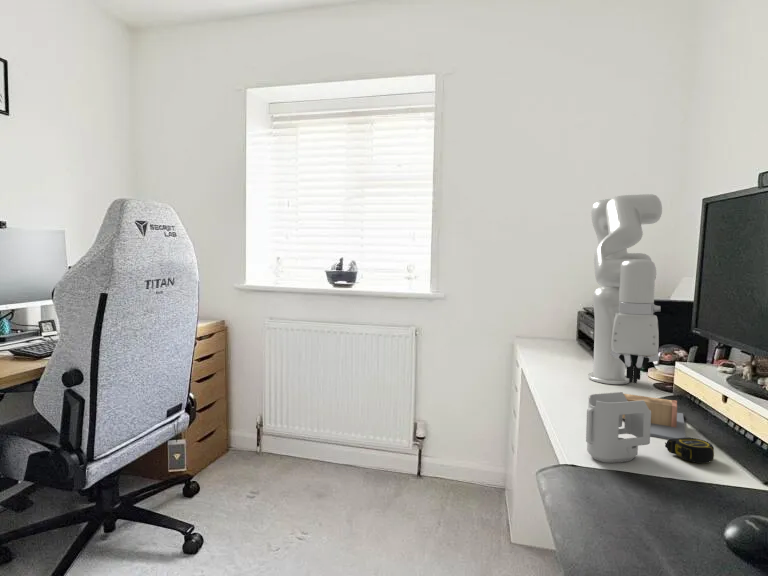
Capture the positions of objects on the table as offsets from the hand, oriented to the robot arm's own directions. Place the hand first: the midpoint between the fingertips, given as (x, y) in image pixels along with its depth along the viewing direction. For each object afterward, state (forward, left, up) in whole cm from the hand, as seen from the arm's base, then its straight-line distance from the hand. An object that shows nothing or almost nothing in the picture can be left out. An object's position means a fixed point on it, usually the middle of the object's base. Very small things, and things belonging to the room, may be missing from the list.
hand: (633, 381), depth 111 cm
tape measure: (+18, +11, -10) cm, 24 cm away
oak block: (0, -3, -6) cm, 7 cm away
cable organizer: (+26, -1, -10) cm, 28 cm away
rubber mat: (0, +5, -10) cm, 11 cm away
